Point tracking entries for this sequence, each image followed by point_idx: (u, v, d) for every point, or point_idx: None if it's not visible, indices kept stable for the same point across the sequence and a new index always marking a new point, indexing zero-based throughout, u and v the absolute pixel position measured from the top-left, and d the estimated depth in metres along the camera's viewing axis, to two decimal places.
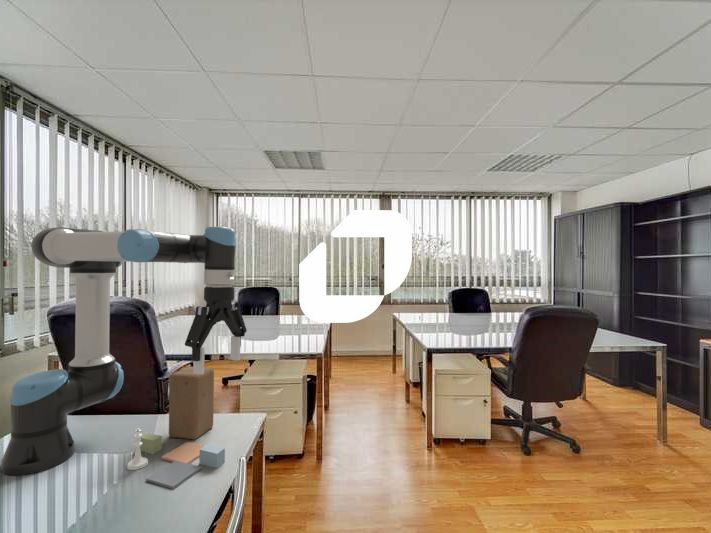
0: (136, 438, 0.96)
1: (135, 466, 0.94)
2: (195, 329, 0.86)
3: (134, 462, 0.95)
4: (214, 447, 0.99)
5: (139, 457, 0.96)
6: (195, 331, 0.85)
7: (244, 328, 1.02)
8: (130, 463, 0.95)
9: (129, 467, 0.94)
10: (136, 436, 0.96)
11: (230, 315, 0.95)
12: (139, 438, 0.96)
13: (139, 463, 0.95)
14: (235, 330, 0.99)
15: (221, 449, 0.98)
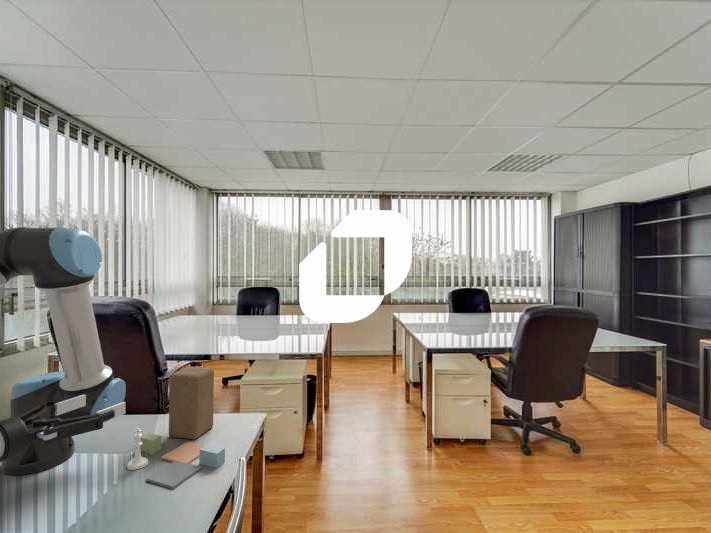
0: (136, 438, 0.96)
1: (135, 466, 0.94)
2: None
3: (134, 462, 0.95)
4: (214, 446, 0.99)
5: (139, 457, 0.96)
6: None
7: None
8: (130, 463, 0.95)
9: (129, 467, 0.94)
10: (136, 436, 0.96)
11: None
12: (139, 438, 0.96)
13: (139, 463, 0.95)
14: None
15: (221, 449, 0.98)
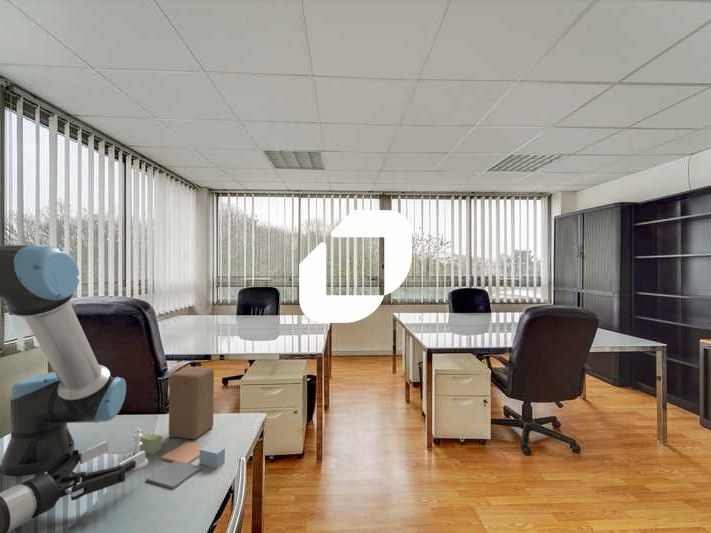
0: (136, 438, 0.96)
1: None
2: None
3: None
4: (214, 446, 0.99)
5: None
6: None
7: None
8: None
9: None
10: (136, 436, 0.96)
11: None
12: (139, 438, 0.96)
13: None
14: None
15: (221, 449, 0.98)
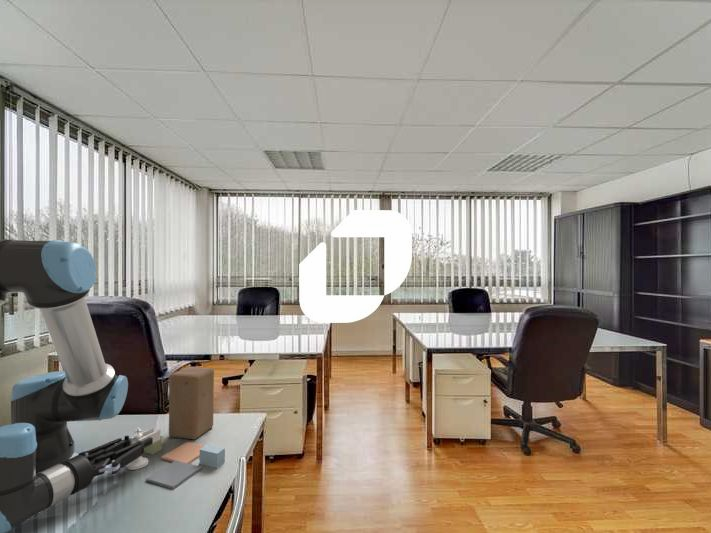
0: (136, 438, 0.96)
1: (135, 466, 0.94)
2: None
3: (134, 462, 0.95)
4: (214, 446, 0.99)
5: (139, 457, 0.96)
6: None
7: None
8: (130, 463, 0.95)
9: (129, 467, 0.94)
10: (136, 436, 0.96)
11: None
12: (139, 438, 0.96)
13: (139, 462, 0.96)
14: None
15: (221, 449, 0.98)
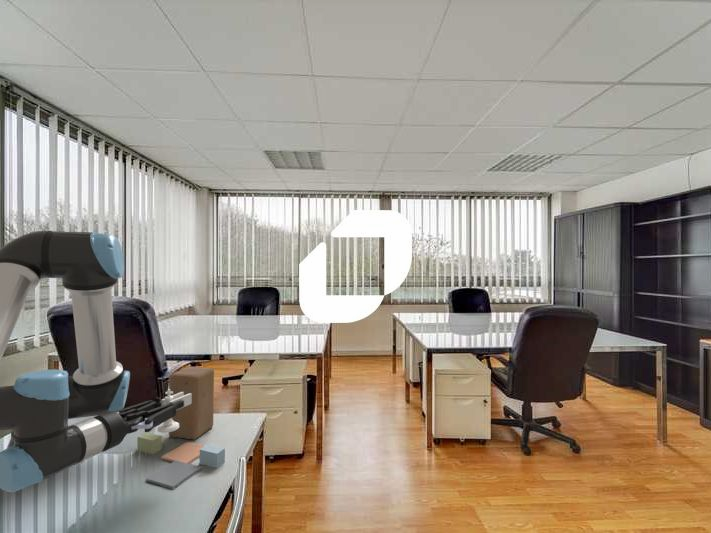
0: (167, 400, 0.91)
1: (166, 429, 0.89)
2: None
3: (165, 425, 0.90)
4: (214, 446, 0.99)
5: (170, 420, 0.91)
6: None
7: None
8: (161, 426, 0.90)
9: (160, 430, 0.89)
10: (167, 398, 0.91)
11: None
12: (170, 400, 0.91)
13: (171, 426, 0.90)
14: None
15: (221, 449, 0.98)
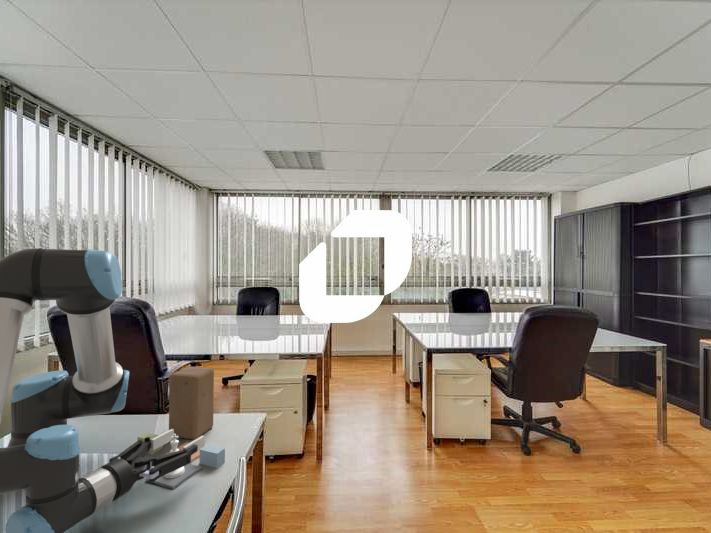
0: (173, 445, 0.91)
1: (172, 474, 0.90)
2: None
3: None
4: (214, 447, 0.99)
5: None
6: None
7: None
8: None
9: (166, 475, 0.90)
10: (173, 442, 0.91)
11: None
12: (176, 445, 0.92)
13: (176, 470, 0.91)
14: None
15: (221, 449, 0.98)
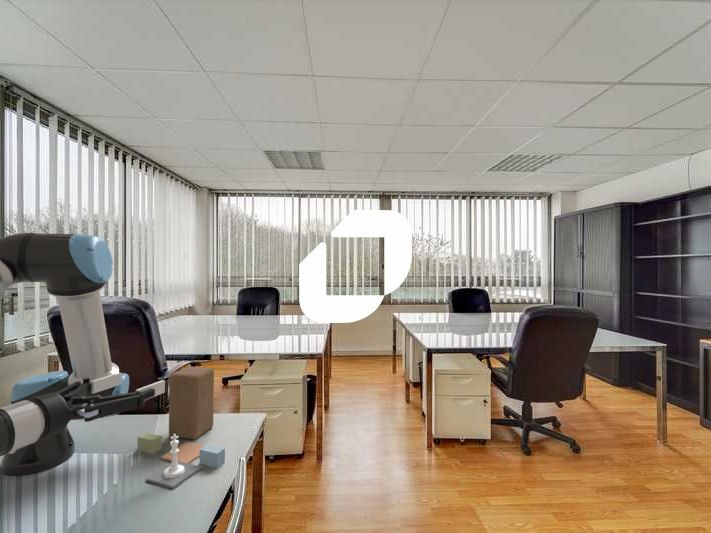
0: (173, 445, 0.91)
1: (172, 474, 0.90)
2: None
3: (171, 470, 0.91)
4: (214, 447, 0.99)
5: (176, 465, 0.92)
6: None
7: None
8: (167, 471, 0.91)
9: (166, 475, 0.90)
10: (173, 443, 0.91)
11: None
12: (176, 445, 0.92)
13: (176, 471, 0.91)
14: None
15: (221, 449, 0.98)
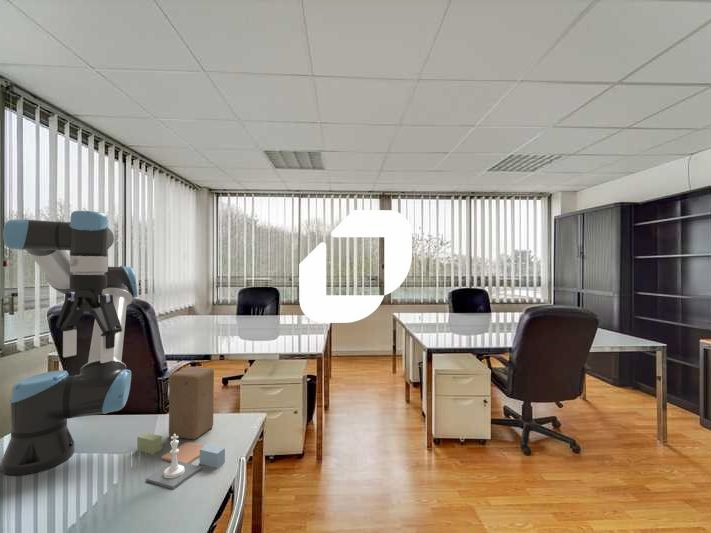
0: (173, 445, 0.91)
1: (172, 474, 0.90)
2: None
3: (171, 470, 0.91)
4: (214, 447, 0.99)
5: (176, 465, 0.92)
6: None
7: (109, 327, 0.84)
8: (167, 471, 0.91)
9: (166, 475, 0.90)
10: (173, 443, 0.91)
11: (88, 307, 0.86)
12: (176, 445, 0.92)
13: (176, 471, 0.91)
14: None
15: (221, 449, 0.98)
